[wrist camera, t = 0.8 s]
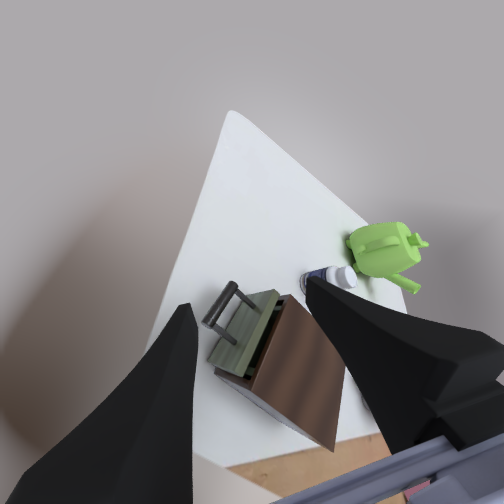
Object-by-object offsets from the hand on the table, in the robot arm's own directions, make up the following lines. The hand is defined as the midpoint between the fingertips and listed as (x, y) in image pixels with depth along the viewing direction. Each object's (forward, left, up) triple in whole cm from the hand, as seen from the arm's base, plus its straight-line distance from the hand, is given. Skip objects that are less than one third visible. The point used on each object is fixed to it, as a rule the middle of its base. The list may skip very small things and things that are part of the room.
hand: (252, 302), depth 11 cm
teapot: (+22, -54, -17) cm, 60 cm away
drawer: (-2, -10, -16) cm, 19 cm away
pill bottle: (+9, -26, -17) cm, 32 cm away
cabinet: (-5, -15, -16) cm, 22 cm away
